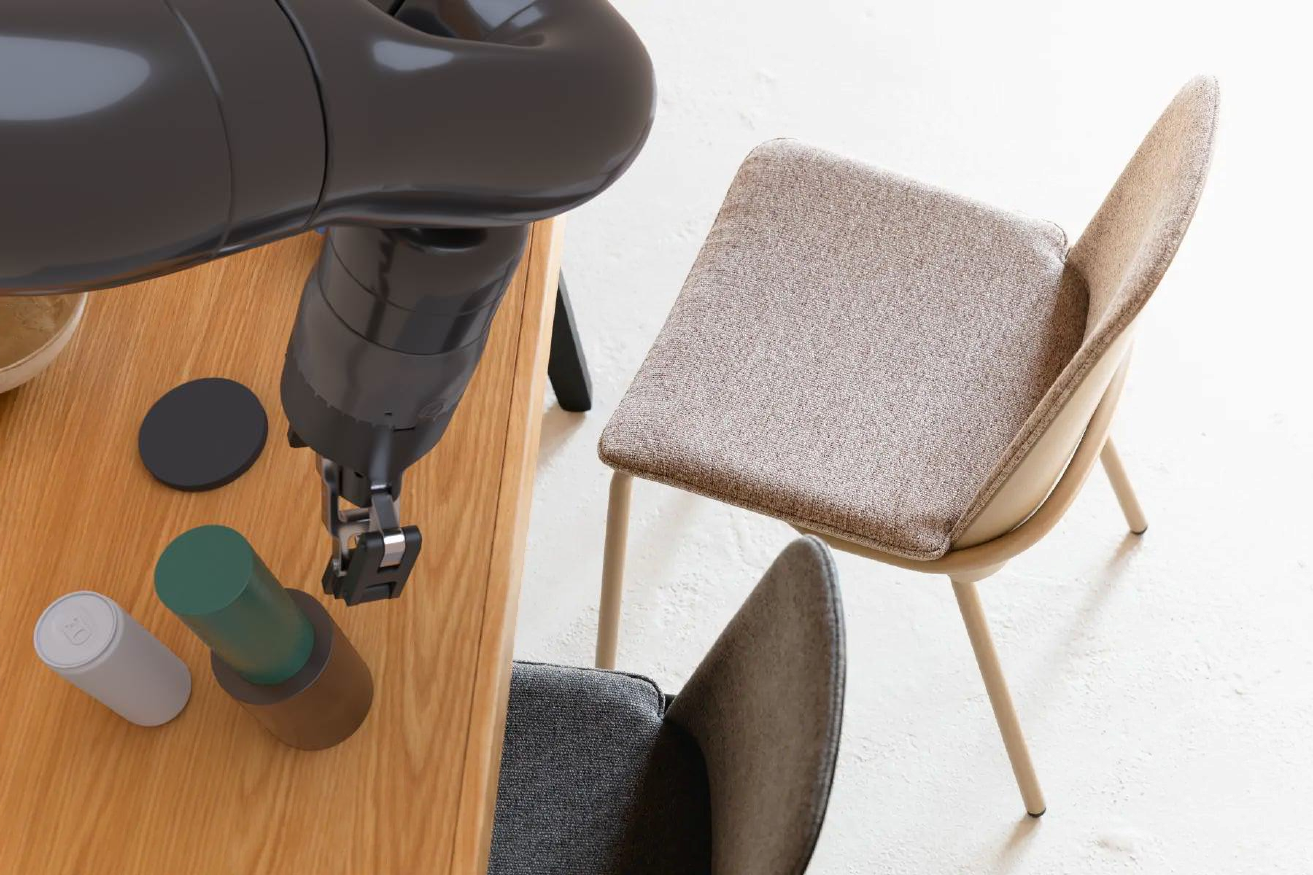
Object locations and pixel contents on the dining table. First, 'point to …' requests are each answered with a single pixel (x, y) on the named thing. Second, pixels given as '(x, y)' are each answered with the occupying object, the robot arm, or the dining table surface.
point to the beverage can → (112, 658)
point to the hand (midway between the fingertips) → (324, 512)
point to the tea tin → (234, 604)
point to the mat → (203, 434)
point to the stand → (309, 687)
